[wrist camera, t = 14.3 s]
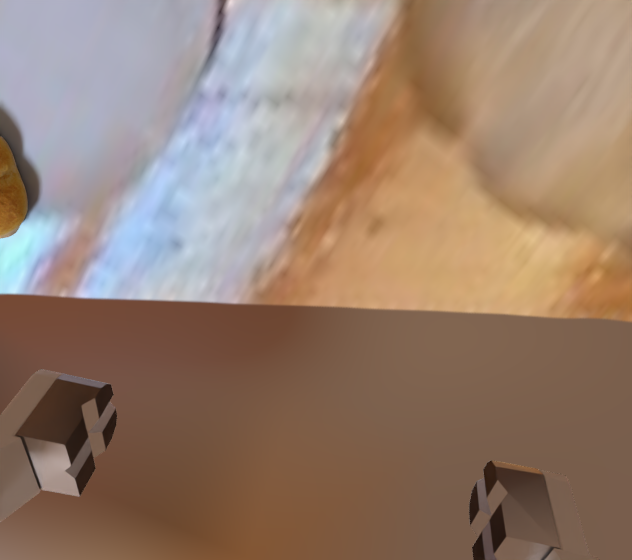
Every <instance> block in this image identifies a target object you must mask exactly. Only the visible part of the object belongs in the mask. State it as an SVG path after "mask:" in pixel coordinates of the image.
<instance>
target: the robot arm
mask: <svg viewBox="0 0 632 560" xmlns="http://www.w3.org/2000/svg"><path fill="white" fill-rule="evenodd" d="M113 395H114V394H113V391H112V386H111V384H107V383H102V382H98V381H93V380H89V379H84V378H80V377H75V376H71V375H66V374H63V373H58V372H53V371H47V370H43V369H40V370H39V371H37V372H36V373H34V374H33V375H32V376H31V377H30V379H29V380H28V381H27V382H26V384H25V385H24V386H23V387H22V389H21V390H20V391H19V392H18V394H17V395H16V396H15V397H14V399H13V400H12V401H11V402H10V404H9V405H8V406H7V407H6V409H5V410H4V411H3V412H2V414H1V415H0V522H1V521H3V520H4V519H5V518H7V517H8V516H9V515H11V514H12V513H13V512H15V510H17V509H18V508H20V507H21V506H22V505H24V504H25V503H26V502H28V501H29V500H30V499H32V498H33V497H34V496H36V495H37V494H38V493H40V490H46V491H51V492H57V493H62V494H68V495H73V496H79V497H80V496H81V494H82V492H83V490H84V488H85V487H86V485H87V483H88V481H89V479H90V478H91V476H92V474H93V472H94V471H95V463H94V457H96V456H97V455H99V454H101V453H102V452H104V451H105V450H106V449H107V446H108V445H109V443H110V441H111V439H112V436H113V434H114V430H115V427H116V421H117V412H116V408H115V407H114V406H113V405H112V404H111V403H110V400H111V398H112V396H113ZM483 471H484V479H481V480H479V481H477V482H476V484H475V486H474V488H473V490H472V493H471V499H470V504H469V519H470V527H471V528H472V529H473V531H474V532H475V534H476V535H477V537H478V539H477V540H476V542H475V543H474V545H473V547H472V552H473V560H599V559H598V558H597V557H594V556H590V554H589V551H588V547H587V544H586V540H585V536H584V533H583V529H582V526H581V522H580V519H579V515H578V511H577V508H576V505H575V501H574V497H573V493H572V490H571V486H570V483H569V480H568V479H567V478H566V476H565V475H562V474H558V473H553V472H547V471H542V470H538V469H536V468H530V467H525V466H520V465H514V464H509V463H503V462H498V461H493V460H491V461H489V462H488V463H487V464H486V466H485V467H484V469H483Z"/></svg>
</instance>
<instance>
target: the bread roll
mask: <svg viewBox="0 0 632 560" xmlns="http://www.w3.org/2000/svg"><path fill="white" fill-rule="evenodd" d="M27 210H28V200H27V194H26V189H25V186H24V183H23V181H22V179H21V176H20V174H19V172H18V169H17V167H16V162H15V159H14V156H13V154H12V151H11V149H10V148H9V145H8V144H7V142H6V141H5V140H4V138H2V137H1V136H0V238H5V237H9V236H11V235H13V234H15V233H16V232H17V230H18V229H19V227H20V225H21V223H22V222H23V221H24V218H25V216H26V213H27Z"/></svg>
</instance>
